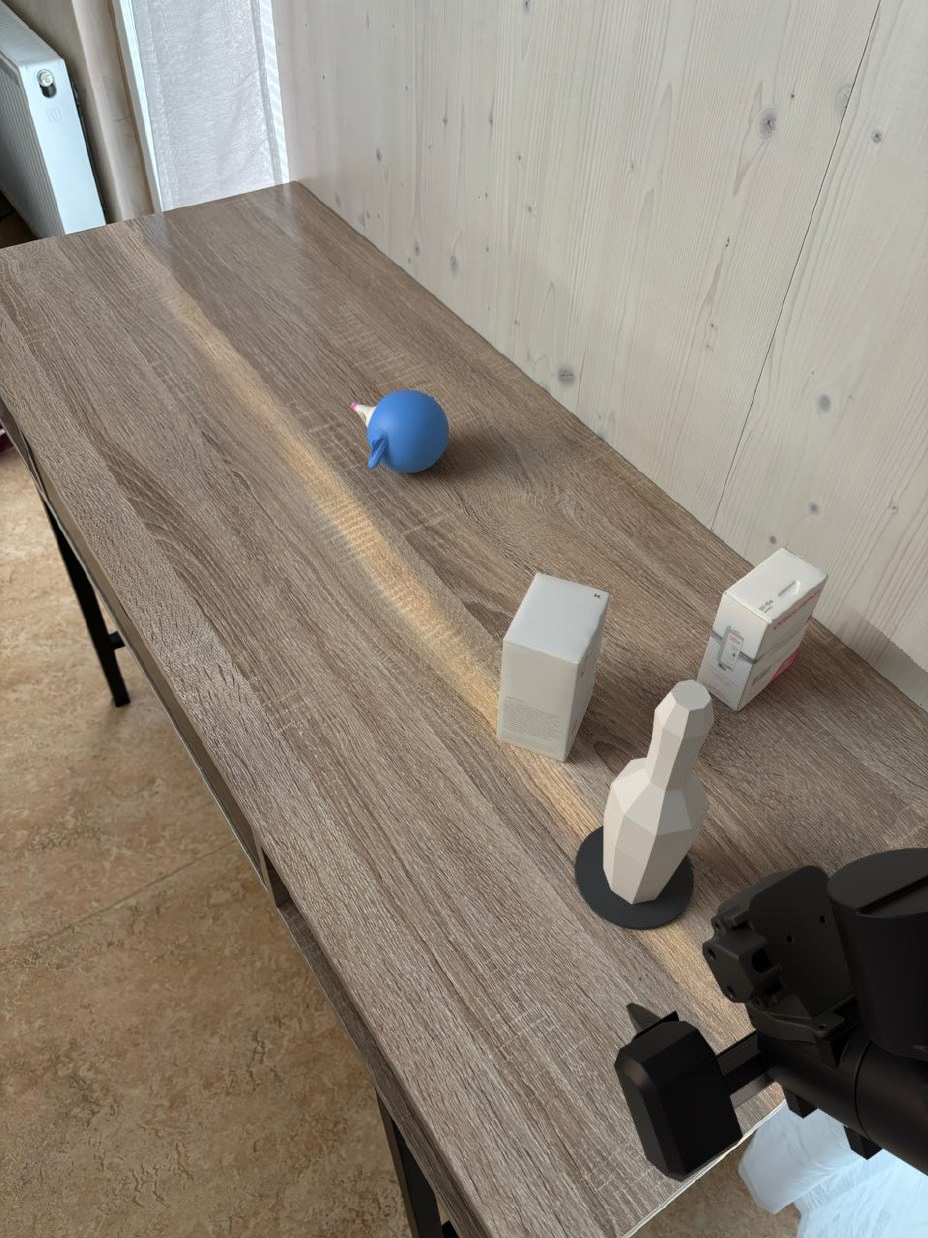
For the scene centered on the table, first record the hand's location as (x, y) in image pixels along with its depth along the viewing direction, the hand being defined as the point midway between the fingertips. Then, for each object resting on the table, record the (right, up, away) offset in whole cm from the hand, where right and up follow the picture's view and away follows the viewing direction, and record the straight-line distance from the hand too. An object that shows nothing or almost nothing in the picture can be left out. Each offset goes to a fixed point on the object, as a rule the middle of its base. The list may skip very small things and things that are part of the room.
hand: (695, 972), depth 58 cm
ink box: (+12, +15, +33) cm, 38 cm away
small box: (-6, +12, +29) cm, 32 cm away
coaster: (0, +1, +19) cm, 19 cm away
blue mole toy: (-21, +38, +53) cm, 68 cm away
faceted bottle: (0, +1, +19) cm, 19 cm away
